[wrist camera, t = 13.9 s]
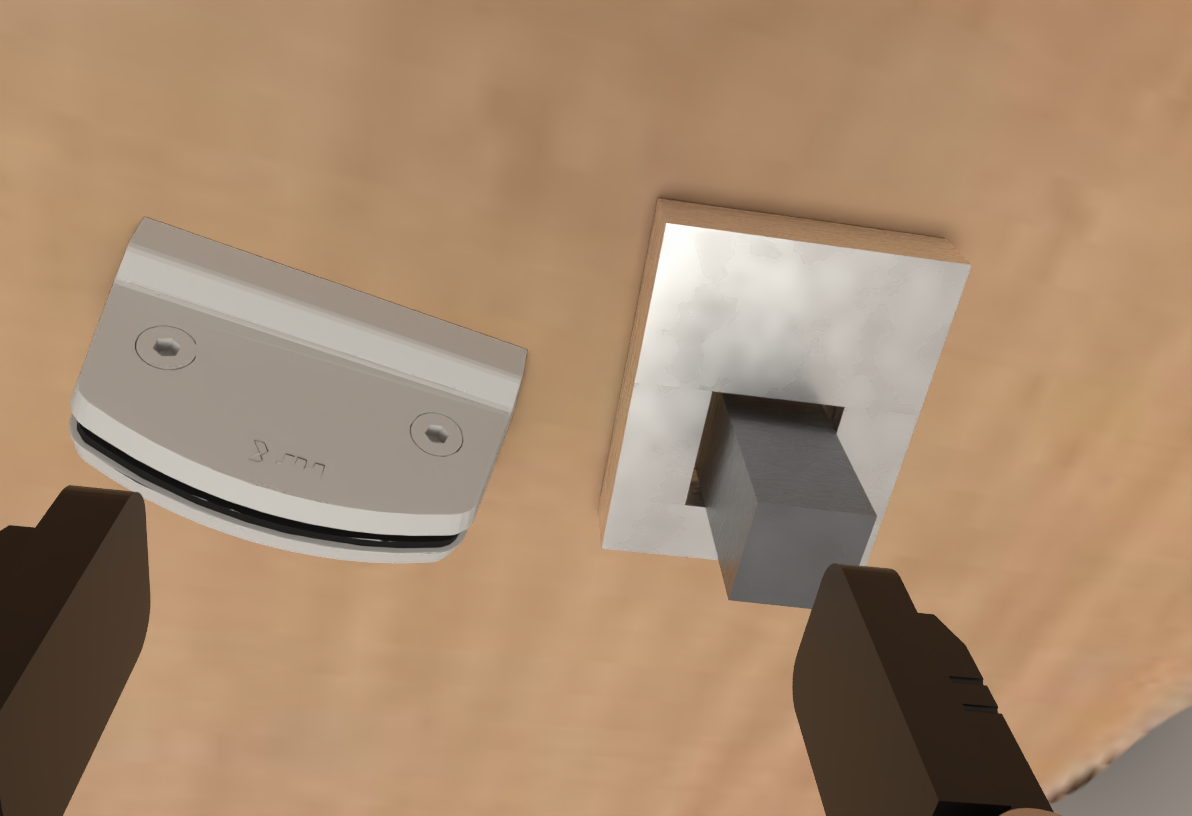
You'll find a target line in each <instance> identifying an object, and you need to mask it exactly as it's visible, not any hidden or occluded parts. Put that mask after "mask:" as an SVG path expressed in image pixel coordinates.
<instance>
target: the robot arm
mask: <svg viewBox="0 0 1192 816" xmlns="http://www.w3.org/2000/svg"><path fill="white" fill-rule="evenodd" d="M149 614H150V583H149V565H148V548H147V530H146V512H145V504H144V500H143V497H142V495H141V494H140V493H139V492H132V491H122V490H112V489H102V488H92V487H81V486H71V485H70V486H67V487H66V488H64V489H63V490H62V491H61V493H60V494H59V495H58V497H57V498H56V500H55V501H54V502H53V504H52V505H51V507H50V508H49V509H48V511H47V512H46V514H45V515H44V516H43V518H42V519H41V521H40V522H39V523H38V525H37V526H36V528H33V527H22V526H12V525H9V526H7V527H6V528H4V529H3V530H1V531H0V816H63V814H64V812H65V810H66V808H67V806H68V804H69V802H70V800H71V797H72V795H73V793H74V791H75V789H76V787H77V785H78V783H79V781H80V779H81V777H82V774H83V772H84V770H85V768H86V766H87V764H88V762H89V760H90V758H91V756H92V753H93V751H94V749H95V747H96V745H97V743H98V741H99V739H100V737H101V735H102V733H103V730H104V728H105V726H106V724H107V722H108V720H109V718H110V716H111V714H112V712H113V710H114V707H115V705H116V703H117V701H118V699H119V697H120V695H121V693H122V691H123V689H124V686H125V684H126V682H127V680H128V678H129V676H130V674H131V672H132V670H133V668H134V666H135V663H136V661H137V659H138V657H139V655H140V652H141V650H142V647H143V644H144V640H145V636H146V632H147V627H148V622H149ZM793 702H794V708H795V712H796V715H797V719H798V722H799V726H800V729H801V732H802V736H803V739H804V742H805V746H806V749H807V753H808V756H809V759H810V763H811V766H812V769H813V773H814V776H815V780H816V783H817V786H818V790H819V793H820V796H821V800H822V803H823V807H824V810H825V813H826V816H1061V815H1059V814H1056V813H1054V812H1053V810H1052V808H1051V806H1050V804H1049V802H1048V800H1047V798H1046V796H1045V795H1044V793H1043V791H1042V789H1041V787H1040V785H1039V783H1038V781H1037V779H1036V778H1035V776H1034V774H1033V772H1032V770H1031V768H1030V766H1029V764H1028V762H1027V760H1026V759H1025V757H1024V755H1023V753H1022V751H1021V749H1020V747H1019V745H1018V743H1017V742H1016V740H1015V738H1014V736H1013V734H1012V732H1011V730H1010V728H1009V726H1008V725H1007V723H1006V721H1005V719H1004V717H1003V715H1002V714H998V711H997V709H998V706H997V704H996V702H995V700H994V698H993V696H992V694H991V692H990V691H989V689H988V687H987V686H985V685H983V677H982V675H981V673H980V672H979V670H978V668H977V666H976V664H975V662H974V660H973V658H972V656H971V655H970V653H969V651H968V649H967V647H966V645H965V644H964V643H963V642H962V641H961V640H960V639H959V638H958V637H957V636H955V635H954V634H953V633H952V632H951V631H950V630H949V629H948V628H947V627H946V626H945V625H944V624H943V623H942V622H941V621H940V620H939V619H938V618H937V617H936V616H935V615H934V614H924V613H917V611H916V609H915V607H914V604H913V602H912V600H911V598H910V596H909V594H908V592H907V590H906V588H905V586H904V584H903V582H902V580H901V578H900V576H899V575H898V573H897V572H896V571H895V570H893V569H888V568H878V567H868V566H858V565H848V564H838V563H833V564H831V565H830V566H828V568H827V569H826V571H825V573H824V575H823V577H822V580H821V583H820V586H819V589H818V592H817V595H816V598H815V601H814V605H813V608H812V611H811V614H810V617H809V620H808V623H807V626H806V629H805V632H804V635H803V638H802V641H801V644H800V647H799V650H798V653H797V656H796V660H795V665H794V671H793Z"/></svg>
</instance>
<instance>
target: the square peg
mask: <svg viewBox="0 0 1192 816" xmlns="http://www.w3.org/2000/svg"><path fill="white" fill-rule="evenodd" d="M695 468H696V472H697V476H698V480H699V484H700V488H701V492H702V496H703V500H704V504H705V508H706V512H707V516H708V520H709V524H710V528H711V532H712V536H713V540H714V544H715V548H716V552H717V556H718V560H719V564H720V568H721V572H722V576H723V580H724V584H725V588H726V592H727V596H728V600H733V601H742V602H752V603H761V604H770V605H780V606H789V607H799V608H808V609H812V608H813V605H814V601H815V598H816V595H817V592H818V589H819V586H820V583H821V580H822V577H823V575H824V573H825V571H826V569H827V568H828V566H830V565H831V564H833V563H838V564H848V565H858V566H859V565H860V562H861V559H862V556H863V554H864V551H865V548H866V546H867V543H868V540H869V537H870V535H871V532H872V529H873V526H874V524H875V521H876V518H877V515H876V513H875V511H874V509H873V507H872V505H871V503H870V501H869V499H868V497H867V495H866V493H865V491H864V489H863V487H862V485H861V483H860V481H859V479H858V477H857V475H856V473H855V471H854V469H853V467H852V465H851V463H850V461H849V459H848V457H847V455H846V453H845V451H844V449H843V447H842V445H841V442H840V440H839V438H838V436H837V434H836V432H835V430H834V428H833V426H832V424H831V422H830V420H829V418H828V416H827V414H826V412H825V410H824V408H823V406H822V404H816V403H808V402H799V401H791V400H782V399H774V398H766V397H757V396H749V395H740V394H732V393H723V392H715V391H712V395H711V399H710V403H709V407H708V411H707V416H706V420H705V424H704V428H703V432H702V436H701V441H700V445H699V449H698V453H697V457H696V461H695Z"/></svg>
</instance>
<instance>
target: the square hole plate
mask: <svg viewBox="0 0 1192 816" xmlns="http://www.w3.org/2000/svg"><path fill="white" fill-rule="evenodd" d="M971 266H972V265H971V264H970V263H969V262H968V261H967V260H966V259H965V258H964V257H963V256H962V255H961V254H960V253H959V252H958V251H957V250H956V249H955V248H954V247H953V246H952V245H951V244H950V243H949V242H948V241H947V240H946V239H945V238H939V237H932V236H925V235H918V234H911V233H904V232H896V231H889V230H882V229H875V228H868V227H861V226H854V225H847V224H840V223H832V222H825V221H818V220H811V219H804V218H797V217H790V216H783V215H776V214H768V213H761V212H754V211H747V210H740V209H733V208H726V207H719V206H711V205H704V204H697V203H690V202H683V201H676V200H669V199H662V198H658V200H657V206H656V211H655V216H654V221H653V226H652V231H651V237H650V242H649V247H648V252H647V257H646V263H645V268H644V273H643V278H642V283H641V289H640V294H639V299H638V304H637V309H636V314H635V320H634V325H633V330H632V335H631V340H630V346H629V351H628V356H627V361H626V366H625V371H624V377H623V382H622V387H621V392H620V397H619V403H618V408H617V413H616V418H615V423H614V428H613V434H612V439H611V444H610V449H609V454H608V460H607V465H606V470H605V475H604V480H603V485H602V491H601V496H600V501H599V506H598V516H599V527H600V538H601V548H602V549H611V550H621V551H632V552H642V553H652V554H662V555H672V556H683V557H693V558H703V559H713V560H718V556H717V552H716V548H715V544H714V540H713V536H712V532H711V528H710V524H709V520H708V516H707V512H706V508H705V504H704V500H703V496H702V492H701V488H700V484H699V480H698V476H697V472H696V470H694V466H695V461H696V457H697V453H698V449H699V445H700V441H701V436H702V432H703V428H704V424H705V420H706V416H707V411H708V407H709V403H710V399H711V395H712V391H715V392H723V393H732V394H740V395H749V396H757V397H766V398H774V399H782V400H791V401H799V402H808V403H816V404H822V406H823V408H824V410H825V412H826V414H827V416H828V418H829V420H830V422H831V424H832V426H833V428H834V430H835V432H836V434H837V436H838V438H839V440H840V442H841V445H842V447H843V449H844V451H845V453H846V455H847V457H848V459H849V461H850V463H851V465H852V467H853V469H854V471H855V473H856V475H857V477H858V479H859V481H860V483H861V485H862V487H863V489H864V491H865V493H866V495H867V497H868V499H869V501H870V503H871V505H872V507H873V509H874V511H875V513H876V515H877V518H876V521H875V524H874V526H873V529H872V532H871V535H870V537H869V540H868V543H867V546H866V548H865V551H864V554H863V556H862V559H861V562H860V565H859V566H866V564H867V562H868V559H869V556H870V553H871V550H872V547H873V544H874V542H875V539H876V536H877V533H878V530H879V527H880V525H881V522H882V519H883V516H884V513H885V510H886V507H887V505H888V502H889V499H890V496H891V493H892V490H893V488H894V485H895V482H896V479H897V476H898V473H899V470H900V468H901V465H902V462H903V459H904V456H905V453H906V451H907V448H908V445H909V442H910V439H911V436H912V433H913V431H914V428H915V425H916V422H917V419H918V416H919V414H920V411H921V408H922V405H923V402H924V399H925V396H926V394H927V391H928V388H929V385H930V382H931V379H932V377H933V374H934V371H935V368H936V365H937V362H938V359H939V357H940V354H941V351H942V348H943V345H944V342H945V340H946V337H947V334H948V331H949V328H950V325H951V322H952V320H953V317H954V314H955V311H956V308H957V305H958V303H959V300H960V297H961V294H962V291H963V288H964V285H965V283H966V280H967V277H968V274H969V271H970V268H971Z"/></svg>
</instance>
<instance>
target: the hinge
mask: <svg viewBox="0 0 1192 816" xmlns="http://www.w3.org/2000/svg"><path fill="white" fill-rule="evenodd" d="M526 355H527V349H524V348H521V347H518V346H515V345H512V344H510V343H507V342H504V341H501V340H498V339H495V338H492V337H489V336H487V335H484V334H481V333H478V332H475V331H472V330H469V329H466V328H464V327H461V326H458V325H455V324H452V323H449V322H446V321H443V320H441V319H438V318H435V317H432V316H429V315H426V314H423V313H420V312H418V311H415V310H412V309H409V308H406V307H403V306H400V305H397V304H395V303H392V302H389V301H386V300H383V299H380V298H377V297H374V296H372V295H369V294H366V293H363V292H360V291H357V290H354V289H351V288H349V287H346V286H343V285H340V284H337V283H334V282H331V281H328V280H326V279H323V278H320V277H317V276H314V275H311V274H308V273H305V272H303V271H300V270H297V269H294V268H291V267H288V266H285V265H282V264H280V263H277V262H274V261H271V260H268V259H265V258H262V257H259V256H256V255H254V254H251V253H248V252H245V251H242V250H239V249H236V248H233V247H231V246H228V245H225V244H222V243H219V242H216V241H213V240H210V239H208V238H205V237H202V236H199V235H196V234H193V233H190V232H187V231H185V230H182V229H179V228H176V227H173V226H170V225H167V224H164V223H162V222H159V221H156V220H153V219H150V218H147V217H144V218H143V220H142V222H141V223H140V225H139V226H138V228H137V230H136V231H135V233H134V234H133V236H132V238H131V239H130V241H129V244H128V246H127V249H126V252H125V254H124V257H123V259H122V262H121V264H120V267H119V269H118V272H117V274H116V277H115V279H114V282H113V285H112V288H111V290H110V293H109V296H108V298H107V301H106V304H105V307H104V309H103V312H102V315H101V317H100V320H99V323H98V325H97V328H96V331H95V334H94V336H93V339H92V342H91V344H90V347H89V350H88V353H87V355H86V358H85V361H84V363H83V366H82V369H81V372H80V374H79V377H78V380H77V382H76V385H75V388H74V391H73V393H72V396H71V402H70V407H71V411H72V416H71V418H70V421H69V430H70V434H71V437H72V439H73V442H74V445H75V448H76V450H77V452H78V454H79V456H80V457H81V458H82V459H83V460H84V461H85V462H87V463H88V464H90V465H91V466H93V467H94V468H96V469H97V470H99V471H100V472H102V473H103V474H105V475H106V476H107V477H109V478H110V479H112V480H114V481H116V482H117V483H119V484H121V485H122V486H124V487H126V488H128V489H129V490H131V491H133V492H139V493H140V494H141V495H142V497H143V498H145V499H147V500H149V501H151V502H153V503H155V504H157V505H159V506H161V507H163V508H165V509H167V510H169V511H171V512H174V513H176V514H178V515H181V516H183V517H185V518H187V519H190V520H192V521H194V522H197V523H199V524H202V525H204V526H207V527H210V528H213V529H215V530H218V531H221V532H223V533H226V534H229V535H232V536H236V537H239V538H242V539H245V540H248V541H251V542H255V543H259V544H263V545H267V546H271V547H274V548H278V549H282V550H287V551H292V552H297V553H302V554H307V555H312V556H318V557H325V558H332V559H339V560H349V561H360V562H372V563H424V562H436V561H439V560H441V559H443V558H444V557H446V556H447V555H448V554H449V553H451V552H452V551H453V550H454V549H455V548H456V547H457V546H458V545H459V544H460V543H461V542H462V541H463V539H464V537H465V534H466V532H467V529H468V527H469V526H470V525H471V524H472V523H473V520H474V518H475V515H476V513H477V510H478V508H479V505H480V502H481V500H482V497H483V495H484V492H485V490H486V487H487V484H488V482H489V479H490V476H491V474H492V471H493V468H494V465H495V463H496V460H497V457H498V455H499V452H500V449H501V446H502V444H503V441H504V438H505V436H506V433H507V430H508V427H509V425H510V422H511V419H512V417H513V414H514V411H515V407H516V403H517V399H518V394H519V390H520V386H521V382H522V377H523V373H524V367H525V361H526Z"/></svg>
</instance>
